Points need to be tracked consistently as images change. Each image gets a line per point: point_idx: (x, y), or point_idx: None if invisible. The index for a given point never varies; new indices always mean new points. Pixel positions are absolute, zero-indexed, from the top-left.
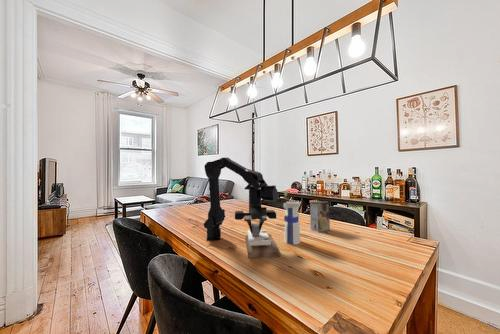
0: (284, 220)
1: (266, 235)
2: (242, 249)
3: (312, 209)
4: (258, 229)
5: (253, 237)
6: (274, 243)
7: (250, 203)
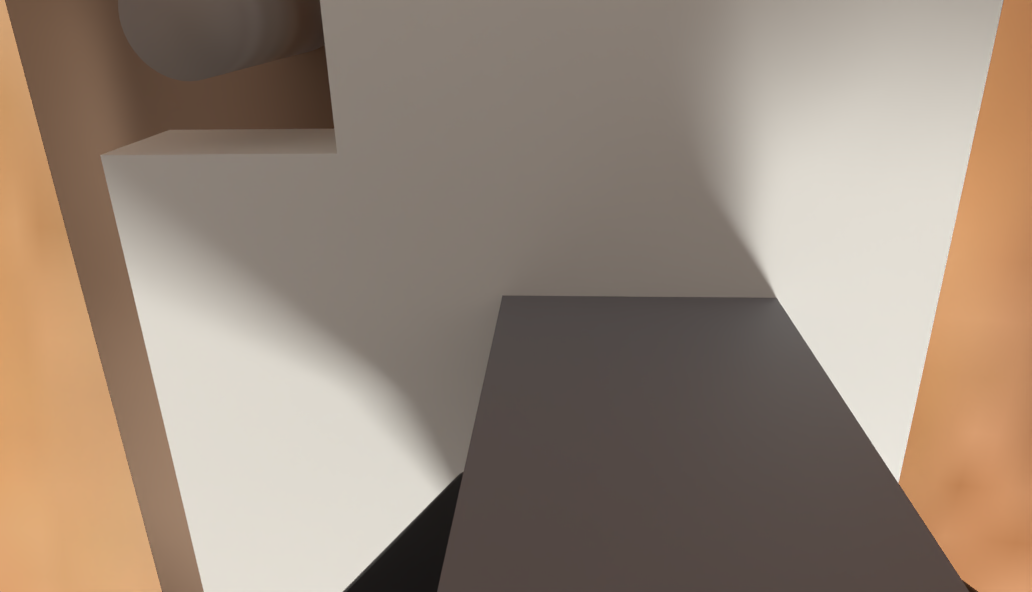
0: None
1: (217, 409)
2: (966, 177)
3: None
4: (499, 478)
5: (746, 244)
6: (86, 227)
7: None
